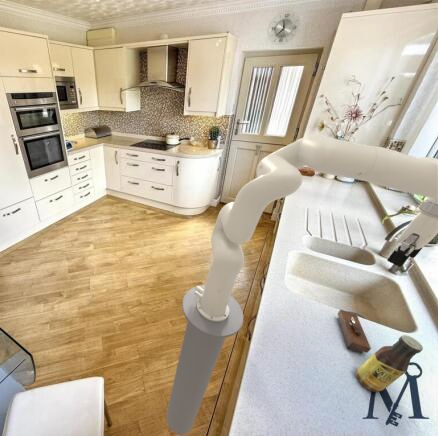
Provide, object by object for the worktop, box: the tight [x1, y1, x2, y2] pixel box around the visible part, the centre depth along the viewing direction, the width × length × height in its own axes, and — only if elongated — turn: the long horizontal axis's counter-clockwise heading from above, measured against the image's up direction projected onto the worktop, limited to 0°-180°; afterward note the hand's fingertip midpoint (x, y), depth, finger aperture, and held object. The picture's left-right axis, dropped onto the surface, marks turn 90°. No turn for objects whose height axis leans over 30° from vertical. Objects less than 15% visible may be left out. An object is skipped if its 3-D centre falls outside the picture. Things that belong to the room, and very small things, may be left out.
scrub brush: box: [336, 309, 372, 354], centre depth 80 cm, size 14×5×6 cm, turn 157°
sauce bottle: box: [355, 334, 424, 393], centre depth 64 cm, size 6×6×20 cm
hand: (400, 259), depth 71 cm, fingers open, 9 cm apart
